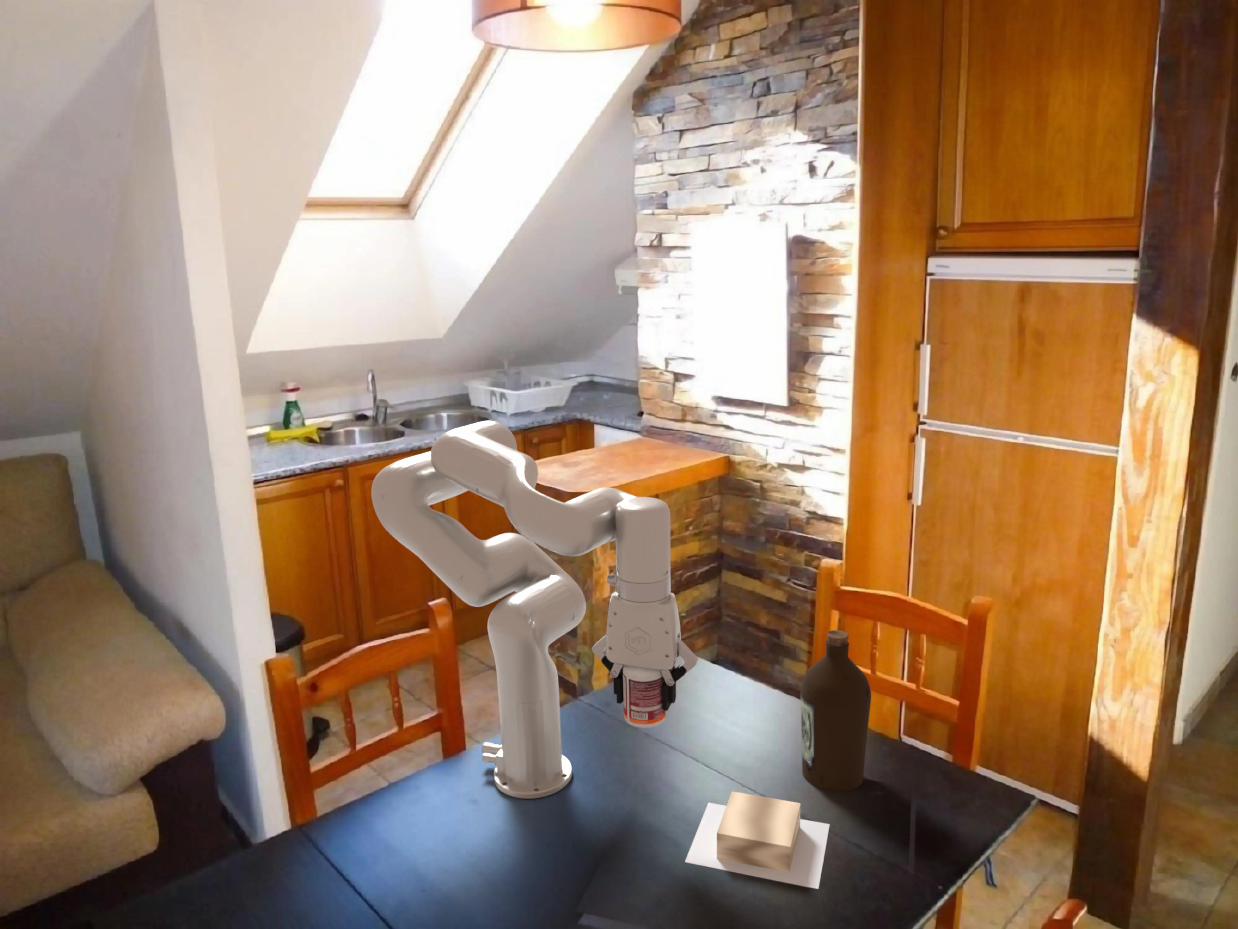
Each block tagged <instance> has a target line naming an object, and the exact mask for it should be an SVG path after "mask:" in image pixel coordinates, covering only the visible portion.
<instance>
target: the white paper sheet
mask: <svg viewBox="0 0 1238 929" xmlns="http://www.w3.org/2000/svg"><path fill="white" fill-rule="evenodd" d="M726 806H727V805H725V804H718V803H713V802H708V803H707V806H706V808H705V810H704V813H703V816H702V818H701V819H700V820H701V821H700V823H699V825H698V828H697V830H696V833H695V836H694V838H693V840H692V842H691V845H690V848H689V851H688V853H687V856H686V858H685V861H684V863H687V864H692V865H696V866H697V865H698V866H700V867H701V866H702V867H708V868H712V869H716V870H720V871H726V872H732V873H737V874H742V875H747V876H752V877H756V878H761V879H765V880H766V879H767V880H770V881H776V882H781V883H784V884H791V885H796V886H799V887H800V886H801V887H805V888H811V889H815V890H819V889H820V888H819V887H820V883H821V878H822V877H821V875H822V871H823V865H824V859H825V854H826V848H827V842H828V835H829V831H830V826H831V824H830V823H824V822H820V821H813V820H808V819H802V818H800V830H799V834H798V839H797V843H796V848H795V852H794V856H793V861H792V865H791V870H790V873H788V872H783V871H778V870H773V869H768V868H763V867H758V866H753V865H748V864H743V863H738V862H733V861H728V860H723V859H718V858H717V831H718V828H719V825H720V823H721V820H722V817H723V814H724V812H725V809H726Z"/></svg>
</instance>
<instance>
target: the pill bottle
mask: <svg viewBox="0 0 1238 929" xmlns="http://www.w3.org/2000/svg"><path fill="white" fill-rule="evenodd" d="M664 682H665V679H664V677H663V674H662V672H661V670H655V669H648V668H640V667H633V666H627V665H624V666H623V717H624V720H625V721H626V722H627V723H628V724H629V725H631V726H633V727H634V728H636V727H637V728H643V729H645V728H646V729H647V728H654V727H657V726H659V725H661V724H663V723H664V722H665V720H666V717H667V711H664V710H663V709H662V686H663V684H664Z"/></svg>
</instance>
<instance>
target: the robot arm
mask: <svg viewBox="0 0 1238 929" xmlns="http://www.w3.org/2000/svg"><path fill="white" fill-rule="evenodd" d="M516 440H517V439H516V437H515V436H514V434H513V433H512V431H511V430H510V429H509V428H508V427H507V426H505V425H504V424H502V423H500V422H497V421H495V420H483V421H477V422H475V423H470V424H467V425H464V426H460V427H455V428H453V429H451V430H448V431H446V432H444V433H442V434H441V435H440V436H439V437H438V438H436V440H435V442H434V443H433V445H432V447H431V450H430V451H426V452H423V453H420V454H419V453H418V454H416V455H411V456H409V457H405V458H402V459H399V460H396V461H394V462H392V463H391V464H389V465H387V466H385V467H384V468H382V469H381V470H380V471H379V472H378V473H377V474H376V475H375V477H374V479H373V481H372V485H371V492H370V493H371V495H370V496H371V501H372V506H373V509H374V512H375V514H376V516H377V518H378V520H379V522H380V524H381V525H382V527H383V528H384V529H385V531H386V532H388V533H389V535H390V536H392V537H393V538H394V539H395V540H397V541H398V543H400V544H401V545H402V546H404V547H405V548H406V549H408V550H409V551H410V552H412V553H413V554H414V555H415V556H417V557H418V559H420V560H421V561H422V562H424V564H425V565H426V566H427V567H428V568H429V569H430V570H431V571H432V572H433V573H434V574H435V575H436V576H437V577H438V578H439V579H440V581H442V582H443V583H444V584H445V585H446V586H447V587H448V588H449V589H450V590H451V591H452V592H453V593H454V594H455V595H456V596H457V597H458V598H459V599H461V600H462V602H463V603H466V604H467V605H469V606H470V607H476V608H477V607H478V608H480V607H485V606H487V605H489V604H491V603H494V602H496V601H499V599H502V598H504V597H505V596H506V597H505V598H504V599H502V600H500V601H499V602H498V603H497V604H496V605H495V606H494V608H493V609H492V611H491V612H490V614H489V616H488V619H487V626H486V627H487V633H488V634H487V635H488V639H489V644H490V646H491V650H492V653H493V657H494V663H495V670H496V671H495V672H496V680H497V681H496V682H497V695H498V709H499V724H500V741H501V743H500V744H497V743H494V742H488V741H484V742H483V744H482V747H481V753H482V756H481V761H482V762H485V763H493V764H495V765H496V766H495V768H494V770H493V771H494V772H493V780H494V781H493V782H494V784H495V786H496V788H497V789H498V790H499V791H500V792H501V793H504V794H505V795H507V796H510V797H513V798H517V799H518V798H519V799H525V800H526V799H530V800H531V799H538V798H544V797H548V796H551V795H553V794H555V793H557V792H559V791H561V790H563V789H564V788H565V787H566V786H567V785H568V784H569V783H570V782H571V779H572V776H573V766H572V764H571V761H570V760H569V759H568V758H567V757H566V756H565V755H563V753H562V735H561V734H562V733H561V732H562V731H561V710H560V688H559V687H560V686H559V676H558V669H557V667H556V665H555V662H554V660H553V659H552V658H551V655H550V654H549V650H548V649H549V646H550V645H551V644H552V643H553V642H556V640H558V639H560V638H561V637H562V636H564V635H566V634H567V633H569V632H570V631H571V630H573V629H574V628H576V627H577V626H578V625H579V624H580V623H581V621H582V620H583V619H584V618H585V614H586V610H587V603H586V602H587V601H586V598H585V594H584V593H583V590H582V589H581V588H580V586H579V585H578V584H577V582H576V581H575V580H574V579H573V578H572V576H570V575H569V574H568V573H567V572H566V571H565V570H564V569H563V568H562V567H561V566H560V565H559V564H557V563H556V562H555V561H554V560H553V559H552V558H551V557H550V556H549V555H548V554H547V553H546V552H545V551H543V550H542V549H541V548H540V547H542V548H544V549H546V550H548V551H551V552H554V553H556V554H559V555H562V556H566V557H567V556H568V557H579V556H583V555H585V554H588V553H590V552H591V551H593V550H594V549H596V548H599V547H600V546H603V545H605V544H608V543H610V542H614V541H615V553H616V554H615V557H616V558H615V563H616V568H615V569H616V573H613V574H608V575H607V576H606V583H607V584H609V585H612V586H614V590H615V591H614V592H612V593H611V594H610V599H609V603H608V604H609V605H608V611H607V621H606V632H605V634H604V636H602V637H601V638H600V639H599V640H598V641H597V642H595V643H594V645H592V647H591V651H592V653H593V654H594V655H595V656H596V657H597V658H598V659H599V660H600V661H601V663H602V664H603V666H604V667H605V668H606V669H607V670H608V671H609V672H610V674H609V675H610V676H611V677H612V679H613V695H616V704H618V705H619V704H622V703H624V701H623V666H624V665H627V666H633V667H640V668H648V669H655V670H661V672H662V674H663V677H664V679H665V682H664V684H663V686H662V709H663V710H664V711H666V712H668V711H669V709H670V707H671V705H672V704H675V703H676V700H677V681H679V680H680V679H681V678H683V677H684V676H685V675H686V674H687V673H688V672H689V671H691V670H692V669H693V668H695V666H697V664H698V662H699V657H698V656H697V655H696V654H695V653H694V652H693V651H692V650H691V648H689V646H687V645H686V643H685V642H684V641H683V639H682V637H681V636H682V635H681V634H682V633H681V623H680V616H679V615H680V614H679V610H678V603H677V600H676V596H675V595H676V594H674V593H673V592H671V591H672V589H671V587H672V586H671V510H670V508H669V505H668V503H666V502H665V501H663V500H662V499H659V498H656V497H649V496H635V495H634V494H631V493H628V492H626V491H623V490H621V489H619V488H616V487H609V486H607V487H604V486H603V487H599V488H597V489H594V490H591V491H589V492H587V493H584V494H581V495H579V496H577V497H575V498H571V499H570V500H567V501H566V502H563V501H560V500H557V499H555V498H552V497H551V496H548V495H546V494H544V493H542V492H540V491H539V490H536V486H537V482H538V479H539V478H538V474H539V470H538V466H537V463H536V461H535V460H534V458H533V457H531V456H530V455H528V454H526V453H524V452H521V451H519V450H518V446H517V445H518V444H517V441H516ZM468 491H470V493H473V494H475V495H477V496H480V497H482V498H484V499H486V500H488V501H490V502H492V503H495V504H496V505H499V506H501V507H502V508H503V509H504V512H505V514H506V517H507V518H508V520H509V521H510V523H511V525H513V527H514V528H515V530H516V531H517V532H518V533H515V532H504V533H501V534H498V535H495V536H492V537H490V538H488V539H479V538H478V537H476V536H475V535H474V534H473V533H472V532H470V531H469V530H468V529H467V528H466V527H465V526H464V525H463V524H462V523H461V522H460V521H458V520H457V519H455V518H454V517H451V516H450V515H447V514H446V513H443V512H440V511H437V510H435V509H432V508H431V507H430V506H431V505H435V504H437V503H441V502H443V501H445V500H449V499H451V498H454V497H456V496H459V495H462V494H464V493H466V492H468ZM509 594H510V595H509ZM507 595H508V596H507ZM678 657H681V658H682V660H683V662H682V663H680V664H678V666H677V665H676V662H677V658H678Z"/></svg>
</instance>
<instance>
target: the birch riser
mask: <svg viewBox="0 0 1238 929" xmlns="http://www.w3.org/2000/svg"><path fill="white" fill-rule="evenodd" d="M801 804H802V803H800V802H795V801H789V800H784V799H778V798H773V797H767V796H761V795H755V794H749V793H745V792H737V791H733V790H732V791H731V793H730V795H729V798H728V801H727V804H726V805H725V806H726V809H725V812H724V814H723V817H722V820H721V823H720V825H719V828H718V831H717V858H718V859H723V860H728V861H733V862H738V863H743V864H748V865H753V866H758V867H763V868H768V869H773V870H778V871H783V872H788V873H790V870H791V865H792V861H793V856H794V852H795V848H796V843H797V839H798V834H799V830H800V819H801V806H802V805H801Z"/></svg>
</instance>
